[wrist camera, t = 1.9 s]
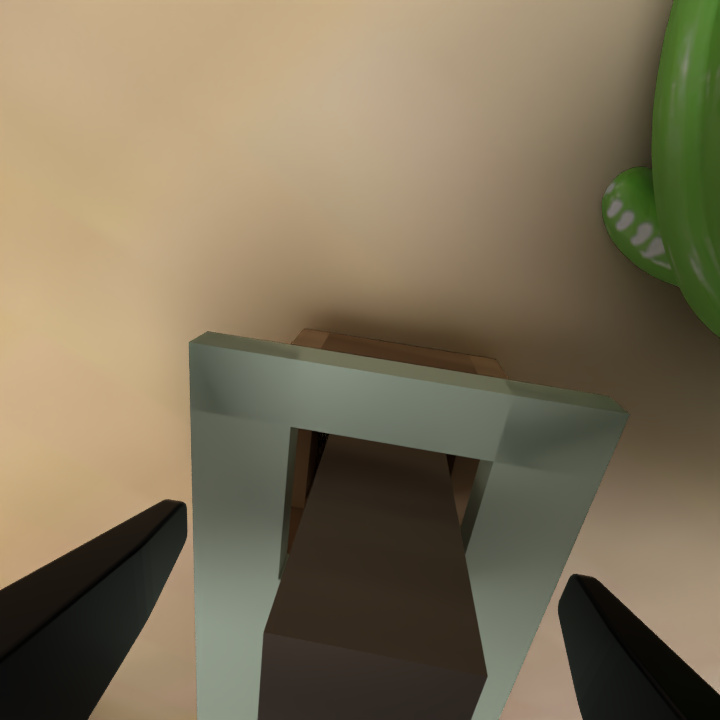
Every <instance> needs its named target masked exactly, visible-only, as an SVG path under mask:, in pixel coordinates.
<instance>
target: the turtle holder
mask: <svg viewBox="0 0 720 720" xmlns="http://www.w3.org/2000/svg"><path fill="white" fill-rule="evenodd" d="M651 147H652V169H649V168H646V167H634V168H631V169H629V170H626V171H624V172H622V173H621V174H620V175H618V176H617V177H616V178H615V179H614V180H613V181H612V183H611V184H610V185H609V186H608V188H607V189H606V191H605V194H604V196H603V198H602V215H603V220H604V223H605V226H606V229H607V232H608V234H609V236H610V238H611V239H612V240H613V242H614V243H615V245H616V246H617V247H618V248H619V250H620V251H621V252H622V253H623V254H624V255H625V256H626V257H627V258H628V259H629V260H631V261H632V262H633V263H634V264H635V265H636V266H637V267H639V268H640V269H642V270H643V271H645V272H646V273H648V274H649V275H651V276H653V277H655V278H657V279H660V280H662V281H664V282H667V283H670V284H673V285H676V286H679V288H680V290H681V292H682V294H683V296H684V297H685V299H686V301H687V303H688V305H689V306H690V307H691V308H692V310H693V311H694V312H695V314H696V315H697V316H698V318H699V319H700V320H701V321H702V322H703V323H704V324H705V325H706V326H707V327H708V328H709V329H710V330H711V331H712V332H713V333H714V334H715V335H717V336H718V337H720V0H674V1H673V5H672V9H671V13H670V17H669V20H668V24H667V28H666V32H665V36H664V41H663V46H662V52H661V58H660V63H659V69H658V75H657V81H656V89H655V97H654V105H653V120H652V145H651Z"/></svg>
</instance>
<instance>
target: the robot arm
mask: <svg viewBox="0 0 720 720" xmlns="http://www.w3.org/2000/svg"><path fill="white" fill-rule="evenodd" d="M186 538H187V507H186V504H185V503H184V502H181V501H176V500H170V499H166V500H163V501H161V502H159V503H157V504H156V505H154V506H152V507H150V508H148V509H146V510H145V511H143V512H141V513H139V514H137V515H136V516H134V517H132V518H130V519H128V520H127V521H125V522H123V523H121V524H119V525H117V526H116V527H114V528H112V529H110V530H108V531H107V532H105V533H103V534H101V535H99V536H98V537H96V538H94V539H92V540H90V541H88V542H87V543H85V544H83V545H81V546H79V547H78V548H76V549H74V550H72V551H70V552H69V553H67V554H65V555H63V556H61V557H59V558H58V559H56V560H54V561H52V562H50V563H49V564H47V565H45V566H43V567H41V568H39V569H38V570H36V571H34V572H32V573H30V574H29V575H27V576H25V577H23V578H21V579H20V580H18V581H16V582H14V583H12V584H10V585H9V586H7V587H5V588H3V589H1V590H0V720H88V718H89V716H90V715H91V713H92V711H93V710H94V708H95V707H96V705H97V703H98V702H99V700H100V698H101V697H102V695H103V693H104V692H105V690H106V688H107V687H108V685H109V683H110V682H111V680H112V678H113V677H114V675H115V673H116V672H117V670H118V668H119V667H120V665H121V663H122V662H123V660H124V659H125V657H126V655H127V654H128V652H129V650H130V649H131V647H132V645H133V644H134V642H135V640H136V639H137V637H138V635H139V634H140V632H141V630H142V629H143V627H144V625H145V623H146V622H147V620H148V618H149V616H150V614H151V612H152V610H153V608H154V606H155V604H156V602H157V600H158V598H159V596H160V594H161V592H162V590H163V587H164V585H165V583H166V581H167V579H168V577H169V575H170V573H171V571H172V569H173V567H174V565H175V563H176V561H177V558H178V556H179V554H180V552H181V550H182V548H183V546H184V544H185V541H186ZM558 615H559V620H560V624H561V629H562V633H563V638H564V643H565V647H566V652H567V656H568V661H569V665H570V670H571V675H572V679H573V684H574V688H575V693H576V697H577V701H578V705H579V708H580V712H581V715H582V719H583V720H720V695H719V694H718V693H717V692H716V691H715V690H714V689H713V688H712V687H711V686H710V685H709V684H708V683H707V682H706V681H705V680H703V679H702V678H701V677H700V676H699V675H698V674H697V673H696V672H695V671H694V670H693V669H692V668H691V667H690V666H689V665H688V664H686V663H685V662H684V661H683V660H682V659H681V658H680V657H679V656H678V655H677V654H676V653H675V652H674V651H673V650H672V649H671V648H670V647H668V646H667V645H666V644H665V643H664V642H663V641H662V640H661V639H660V638H659V637H658V636H657V635H656V634H655V633H654V632H653V631H651V630H650V629H649V628H648V627H647V626H646V625H645V624H644V623H643V622H642V621H641V620H640V619H639V618H638V617H637V616H636V615H634V614H633V613H632V612H631V611H630V610H629V609H628V608H627V607H626V606H625V605H624V604H623V603H622V602H621V601H620V600H619V599H618V598H616V597H615V596H614V595H613V594H612V593H611V592H610V591H609V590H608V589H607V588H606V587H605V586H604V585H603V584H602V583H601V582H599V581H598V580H597V579H596V578H594V577H590V576H585V575H580V574H573V575H572V576H570V578H569V580H568V582H567V584H566V587H565V589H564V591H563V593H562V596H561V598H560V600H559V604H558Z"/></svg>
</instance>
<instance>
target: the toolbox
mask: <svg viewBox="0 0 720 720" xmlns="http://www.w3.org/2000/svg"><path fill="white" fill-rule="evenodd" d="M291 345H296V346H303V347H309V348H315V349H321V350H327V351H334V352H340V353H346V354H352V355H358V356H364V357H371V358H377V359H383V360H389V361H395V362H402V363H408V364H414V365H420V366H426V367H433V368H439V369H445V370H451V371H457V372H464V373H470V374H476V375H482V376H488V377H494V378H501V379H507V380H508V377H507V376H506V374H505V373H504V371H503V370H502V368H501V367H500V365H499V364H498V362H497V361H496V359H491V358H485V357H479V356H473V355H466V354H460V353H454V352H448V351H441V350H435V349H429V348H422V347H416V346H410V345H404V344H397V343H391V342H385V341H378V340H372V339H366V338H360V337H353V336H347V335H341V334H335V333H328V332H322V331H316V330H309V329H304V330H303V331H302V332H301V333H300V334H299V335H298V336H297V338H296V339H295V340H294V341H293V342H292V343H291ZM318 437H319V432H318V431H312V430H306V429H300V428H298V437H297V448H296V459H295V470H294V481H293V492H292V503H291V515H290V526H289V537H288V548H287V554H290V551H291V548H292V545H293V542H294V539H295V536H296V533H297V530H298V527H299V524H300V521H301V518H302V515H303V512H304V509H305V506H306V503H307V500H308V497H309V494H310V491H311V488H312V485H313V482H314V479H315V476H316V473H317V470H316V469H315V464H316V455H317V446H318ZM446 456H447V462H448V467H449V472H450V478H451V483H452V488H453V494H454V499H455V504H456V510H457V515H458V520H459V525H460V528H461V524H462V521H463V517H464V514H465V510H466V507H467V503H468V500H469V496H470V493H471V490H472V486H473V483H474V479H475V476H476V472H477V469H478V465H479V462H480V459H475V458H469V457H463V456H458V455H452V454H446Z"/></svg>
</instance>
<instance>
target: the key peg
mask: <svg viewBox="0 0 720 720" xmlns="http://www.w3.org/2000/svg"><path fill="white" fill-rule="evenodd" d="M487 677H488V674H487V669H486V664H485V658H484V653H483V648H482V642H481V637H480V632H479V627H478V621H477V616H476V611H475V605H474V600H473V595H472V589H471V584H470V579H469V573H468V568H467V563H466V557H465V552H464V547H463V541H462V536H461V531H460V525H459V520H458V515H457V510H456V504H455V499H454V494H453V488H452V483H451V478H450V472H449V467H448V462H447V456H446V453H440V452H434V451H429V450H423V449H417V448H411V447H405V446H399V445H394V444H388V443H382V442H376V441H370V440H364V439H359V438H353V437H347V436H341V435H335V434H329V437H328V440H327V443H326V446H325V449H324V452H323V455H322V458H321V461H320V464H319V467H318V470H317V473H316V476H315V479H314V482H313V485H312V488H311V491H310V494H309V497H308V500H307V503H306V506H305V509H304V512H303V515H302V518H301V521H300V524H299V527H298V530H297V533H296V536H295V539H294V542H293V545H292V548H291V551H290V554H289V557H288V560H287V563H286V566H285V569H284V572H283V575H282V578H281V581H280V584H279V587H278V590H277V593H276V596H275V599H274V602H273V605H272V608H271V611H270V614H269V617H268V620H267V623H266V626H265V629H264V632H263V645H262V660H261V675H260V690H259V704H258V719H257V720H471V719H472V716H473V714H474V711H475V708H476V706H477V703H478V701H479V698H480V695H481V693H482V690H483V688H484V685H485V683H486V680H487Z"/></svg>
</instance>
